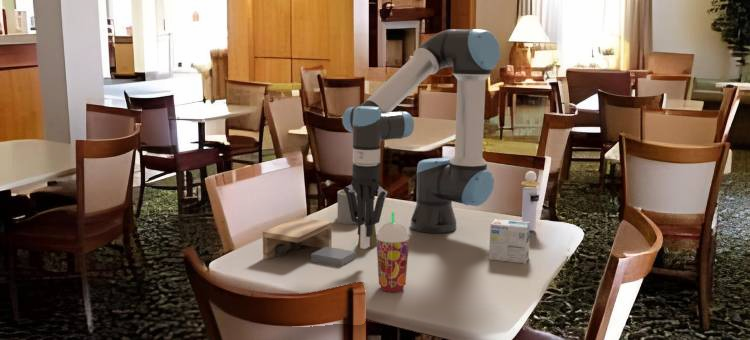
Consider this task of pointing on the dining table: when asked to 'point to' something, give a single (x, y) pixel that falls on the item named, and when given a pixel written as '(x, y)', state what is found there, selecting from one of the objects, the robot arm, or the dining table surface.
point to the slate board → (333, 256)
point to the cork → (372, 238)
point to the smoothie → (392, 256)
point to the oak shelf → (296, 236)
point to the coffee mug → (345, 208)
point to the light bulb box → (509, 241)
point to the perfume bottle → (530, 199)
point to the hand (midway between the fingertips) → (364, 247)
